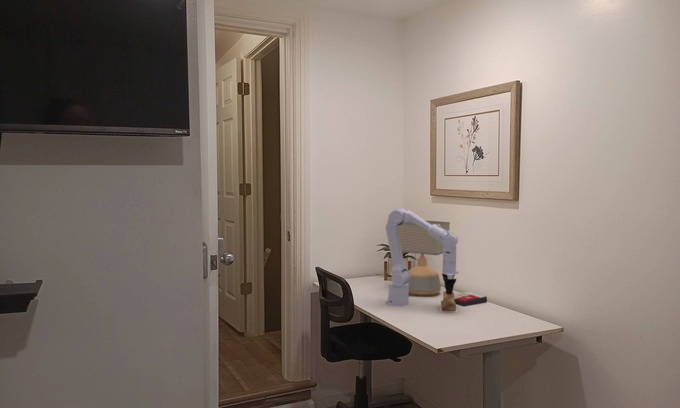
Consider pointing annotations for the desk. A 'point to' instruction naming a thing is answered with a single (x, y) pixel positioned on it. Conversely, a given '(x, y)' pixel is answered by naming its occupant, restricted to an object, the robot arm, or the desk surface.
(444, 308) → the walnut slab
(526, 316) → the desk surface
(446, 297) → the oak cube
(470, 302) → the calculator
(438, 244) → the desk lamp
